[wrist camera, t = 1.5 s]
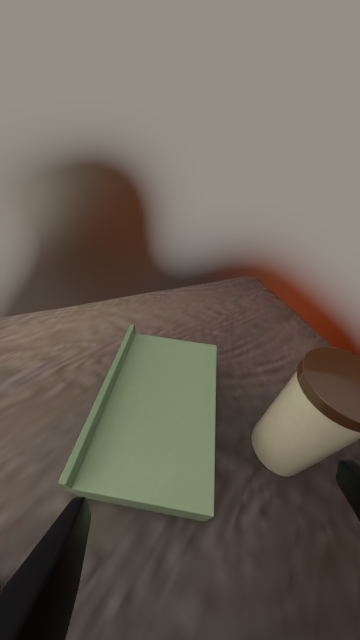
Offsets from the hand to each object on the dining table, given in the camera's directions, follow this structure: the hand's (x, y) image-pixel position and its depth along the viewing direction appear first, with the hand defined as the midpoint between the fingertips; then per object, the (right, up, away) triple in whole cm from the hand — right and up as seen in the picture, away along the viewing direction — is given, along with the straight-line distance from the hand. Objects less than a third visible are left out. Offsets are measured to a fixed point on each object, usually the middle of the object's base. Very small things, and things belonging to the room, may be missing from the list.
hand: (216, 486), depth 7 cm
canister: (+9, -7, +15) cm, 19 cm away
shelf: (-4, -5, +16) cm, 17 cm away
